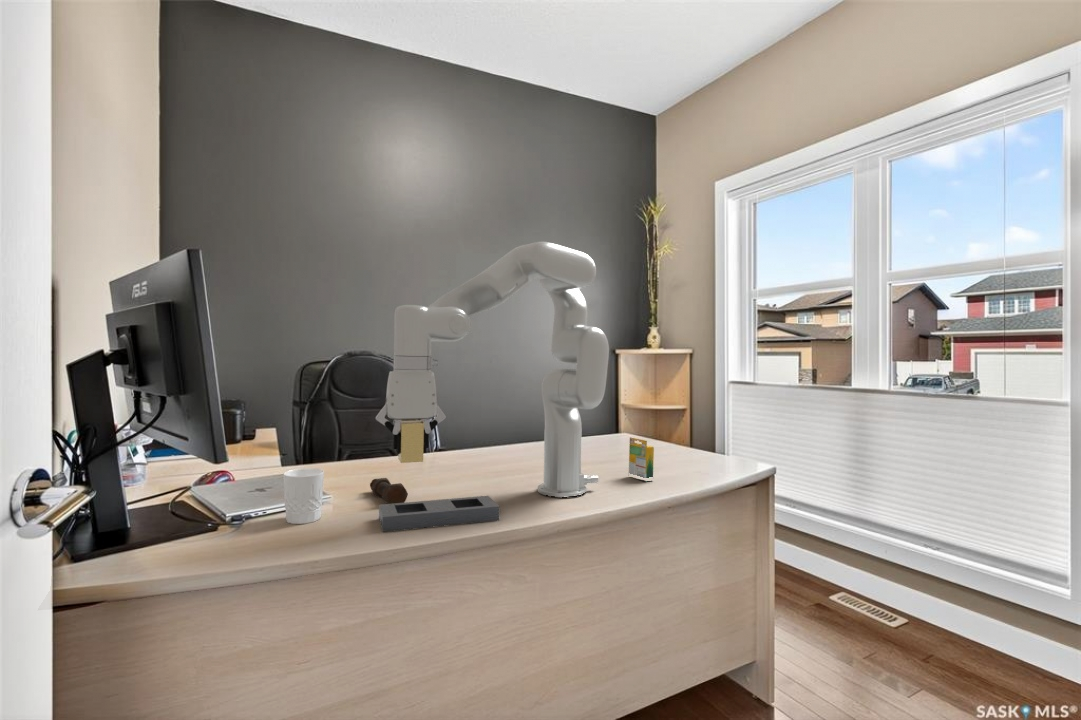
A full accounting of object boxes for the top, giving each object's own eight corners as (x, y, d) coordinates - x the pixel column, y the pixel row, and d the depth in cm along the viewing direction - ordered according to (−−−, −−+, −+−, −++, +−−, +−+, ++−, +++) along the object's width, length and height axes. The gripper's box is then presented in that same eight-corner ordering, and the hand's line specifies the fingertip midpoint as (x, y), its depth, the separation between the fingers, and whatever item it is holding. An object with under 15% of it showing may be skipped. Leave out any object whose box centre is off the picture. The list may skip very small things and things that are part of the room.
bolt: (378, 498, 140) (399, 512, 127) (361, 491, 137) (381, 503, 125) (389, 477, 141) (411, 488, 129) (372, 469, 139) (393, 480, 126)
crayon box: (653, 481, 155) (654, 440, 154) (645, 482, 153) (646, 440, 153) (636, 475, 161) (636, 436, 160) (628, 477, 159) (629, 437, 159)
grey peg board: (488, 508, 126) (488, 495, 126) (499, 520, 117) (499, 506, 117) (379, 518, 117) (379, 504, 117) (382, 532, 109) (382, 517, 109)
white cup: (318, 524, 113) (319, 476, 113) (278, 526, 112) (278, 477, 111) (327, 513, 121) (327, 467, 120) (289, 514, 119) (289, 468, 119)
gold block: (419, 457, 118) (420, 420, 118) (423, 461, 114) (423, 423, 113) (398, 458, 116) (399, 420, 116) (400, 462, 112) (401, 423, 112)
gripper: (449, 364, 121) (447, 447, 121) (368, 363, 115) (367, 450, 115) (456, 366, 114) (454, 453, 114) (371, 365, 108) (369, 457, 108)
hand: (410, 451), depth 115 cm, fingers closed on gold block, 4 cm apart
